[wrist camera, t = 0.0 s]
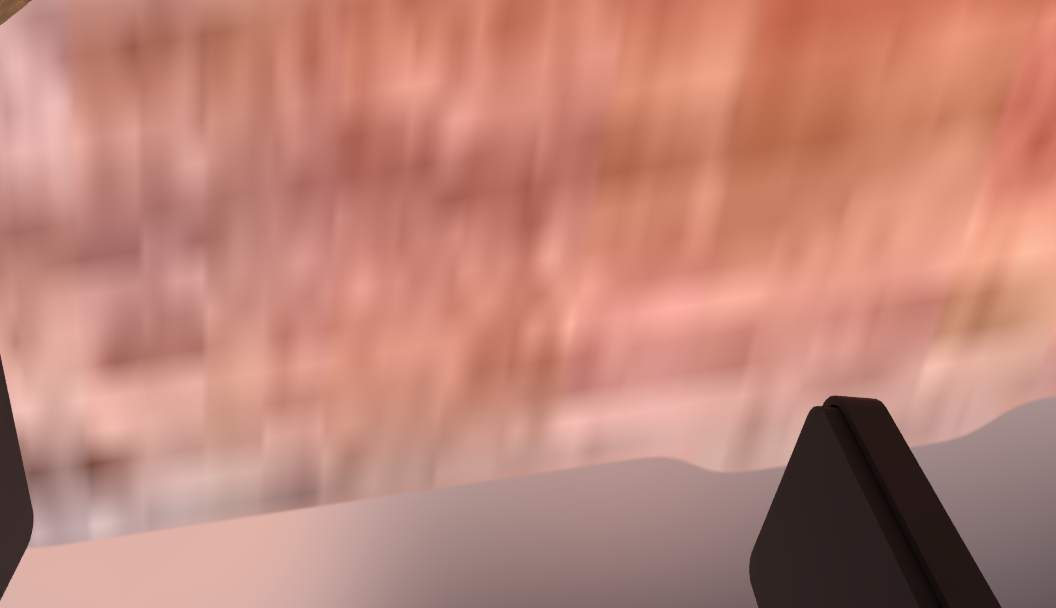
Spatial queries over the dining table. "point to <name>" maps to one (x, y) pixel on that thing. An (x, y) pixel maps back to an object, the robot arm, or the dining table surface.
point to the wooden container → (10, 8)
